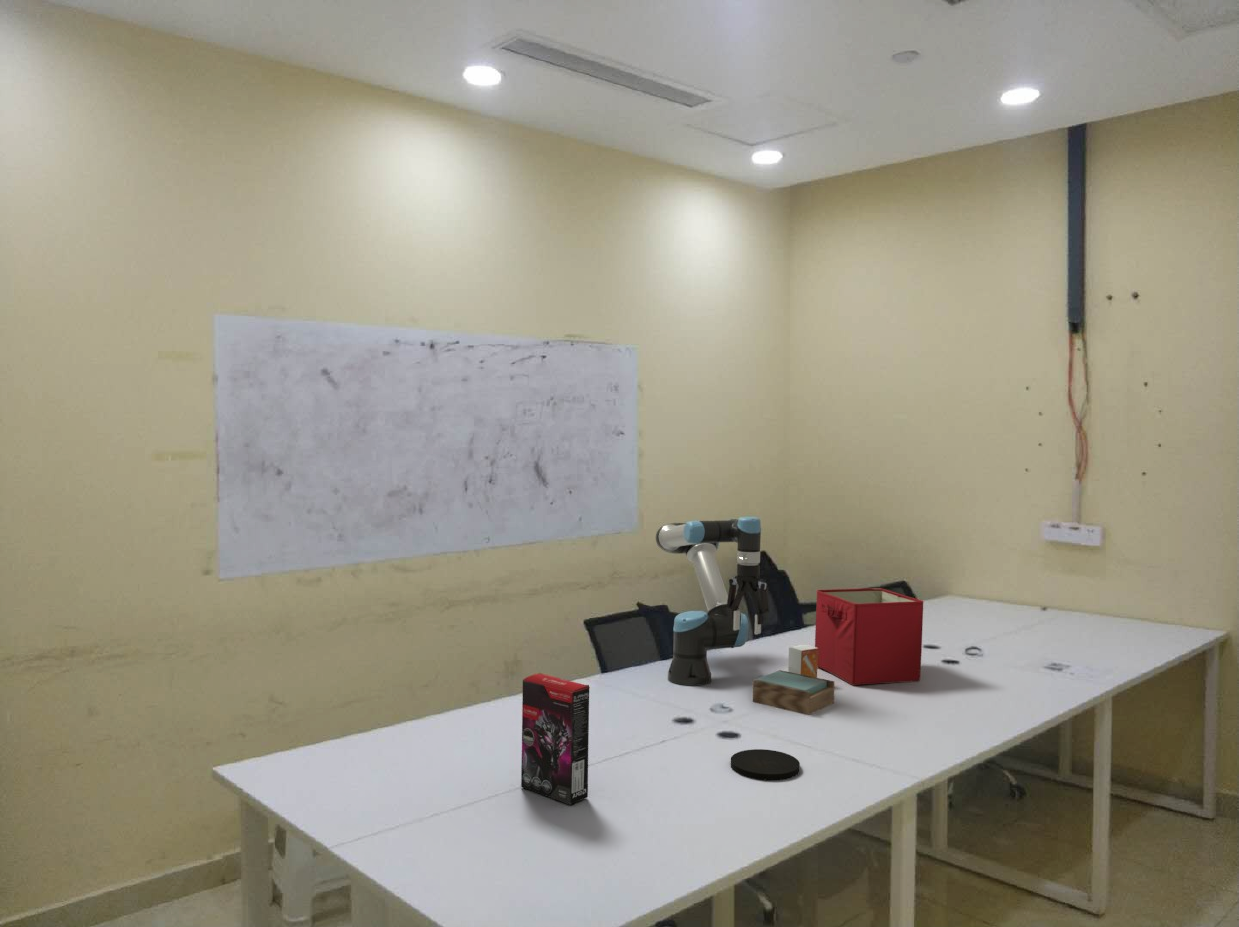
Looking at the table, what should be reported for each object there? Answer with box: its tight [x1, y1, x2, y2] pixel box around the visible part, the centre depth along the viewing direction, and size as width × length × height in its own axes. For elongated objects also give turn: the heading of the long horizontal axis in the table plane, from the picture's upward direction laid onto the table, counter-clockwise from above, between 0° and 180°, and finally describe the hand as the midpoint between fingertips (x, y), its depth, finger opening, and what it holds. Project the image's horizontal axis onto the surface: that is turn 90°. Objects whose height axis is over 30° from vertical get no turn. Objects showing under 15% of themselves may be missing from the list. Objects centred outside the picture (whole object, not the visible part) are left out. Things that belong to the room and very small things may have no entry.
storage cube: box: [814, 587, 924, 686], centre depth 336 cm, size 32×28×29 cm
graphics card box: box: [520, 673, 590, 805], centre depth 224 cm, size 17×7×27 cm, turn 51°
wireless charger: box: [730, 748, 801, 782], centre depth 243 cm, size 18×18×2 cm
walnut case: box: [752, 669, 835, 716], centre depth 301 cm, size 20×17×7 cm
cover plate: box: [755, 670, 827, 694], centre depth 301 cm, size 18×14×2 cm
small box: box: [787, 643, 818, 678], centre depth 321 cm, size 8×6×13 cm
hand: (747, 631), depth 311 cm, fingers open, 8 cm apart
